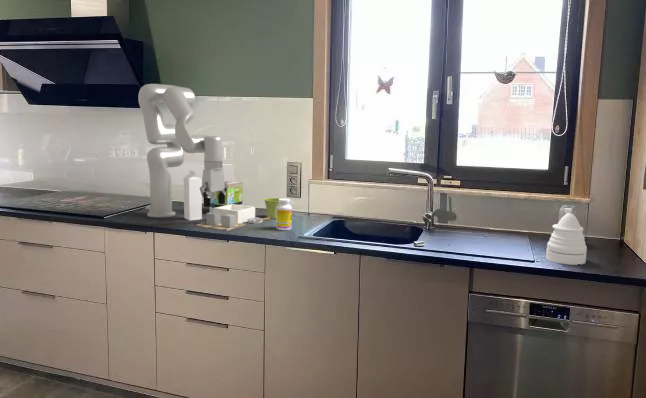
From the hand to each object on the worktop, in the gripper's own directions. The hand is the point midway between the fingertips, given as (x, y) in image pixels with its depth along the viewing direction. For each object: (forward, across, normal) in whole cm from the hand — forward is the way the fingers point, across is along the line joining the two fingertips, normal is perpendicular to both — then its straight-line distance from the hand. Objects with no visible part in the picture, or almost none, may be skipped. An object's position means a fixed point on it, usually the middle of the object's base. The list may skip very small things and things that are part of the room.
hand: (214, 205), depth 233 cm
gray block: (+9, 0, +7) cm, 11 cm away
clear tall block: (+13, -51, +135) cm, 145 cm away
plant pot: (+9, -30, +11) cm, 33 cm away
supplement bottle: (+10, -11, +28) cm, 32 cm away
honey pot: (+13, -23, +137) cm, 139 cm away
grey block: (+8, 0, -1) cm, 9 cm away
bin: (+9, -14, 0) cm, 17 cm away
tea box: (+9, -28, -15) cm, 33 cm away
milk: (+9, -6, -17) cm, 20 cm away
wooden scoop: (+9, -17, +12) cm, 22 cm away
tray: (+9, 0, +3) cm, 9 cm away
